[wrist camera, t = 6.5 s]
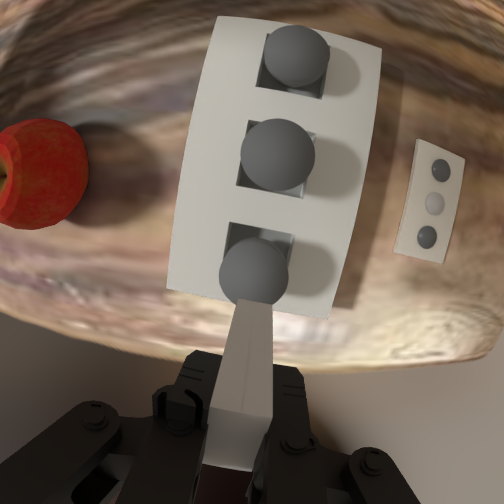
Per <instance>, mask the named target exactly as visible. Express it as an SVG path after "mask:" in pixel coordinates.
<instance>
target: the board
mask: <svg viewBox="0 0 504 504" xmlns="http://www.w3.org/2000/svg"><path fill="white" fill-rule="evenodd" d="M288 25H293V24H287V23H282V22H275V21H268V20H261V19H252V18H242V17H230V16H218V17H217V20H216V23H215V26H214V30H213V33H212V37H211V40H210V44H209V47H208V51H207V55H206V58H205V62H204V66H203V70H202V74H201V78H200V82H199V86H198V90H197V95H196V99H195V104H194V108H193V113H192V117H191V122H190V127H189V132H188V137H187V142H186V147H185V153H184V158H183V164H182V170H181V176H180V182H179V188H178V195H177V201H176V208H175V216H174V223H173V231H172V239H171V248H170V257H169V267H168V277H167V289H172V290H176V291H180V292H185V293H189V294H194V295H198V296H203V297H207V298H212V299H217V300H222V301H227V302H231V301H230V300H229V299H228V298H227V297H226V296H225V294H224V293H223V291H222V289H221V286H220V283H219V269H220V266H221V263H222V261H223V259H224V258H225V256H226V254H227V252H228V251H229V249H230V248H231V247H232V246H233V245H234V244H235V243H237V242H239V241H240V240H243V239H246V238H251V237H258V238H263V239H266V240H269V241H271V242H272V243H274V244H275V245H276V246H277V247H278V248H279V249H280V250H281V251H282V253H283V254H284V257H285V259H286V263H287V268H288V274H289V281H288V286H287V289H286V291H285V293H284V294H283V296H282V297H281V298H280V299H279V300H278V301H277V302H276V303H274V304H273V305H272V310H273V311H279V312H284V313H290V314H296V315H302V316H308V317H314V318H320V319H327V320H328V317H329V313H330V310H331V307H332V304H333V301H334V297H335V294H336V291H337V287H338V284H339V280H340V277H341V273H342V270H343V266H344V263H345V259H346V255H347V251H348V248H349V244H350V240H351V236H352V232H353V228H354V224H355V219H356V215H357V211H358V206H359V202H360V197H361V192H362V188H363V183H364V178H365V173H366V167H367V162H368V156H369V151H370V145H371V139H372V133H373V126H374V119H375V112H376V105H377V97H378V88H379V79H380V68H381V57H382V49H381V48H378V47H375V46H372V45H370V44H367V43H364V42H360V41H357V40H354V39H351V38H347V37H344V36H340V35H337V34H333V33H329V32H325V31H321V30H317V29H313V28H310V29H312V30H314V31H316V32H317V33H319V34H320V35H321V36H322V37H323V38H324V39H325V41H326V42H327V44H328V46H329V50H330V59H329V62H328V65H327V66H326V68H325V70H324V72H323V74H322V75H321V77H320V78H319V79H318V80H317V81H315V82H314V83H312V84H309V85H306V86H301V87H297V88H290V87H286V86H284V85H282V84H281V83H280V82H279V81H277V80H276V79H275V78H274V77H272V75H271V74H270V73H269V72H268V70H267V68H266V65H265V54H264V46H265V42H266V40H267V38H268V37H269V35H270V34H271V33H272V32H273V31H275V30H277V29H278V28H281V27H284V26H288ZM275 118H280V119H286V120H290V121H292V122H294V123H296V124H298V125H299V126H301V127H302V128H303V129H304V130H305V131H306V132H307V133H308V134H309V136H310V138H311V139H312V142H313V144H314V148H315V163H314V167H313V169H312V171H311V173H310V175H309V176H308V177H307V179H306V180H305V181H304V182H303V183H301V184H300V185H298V186H297V187H295V188H292V189H290V190H286V191H271V190H267V189H264V188H262V187H260V186H258V185H257V184H255V183H254V182H253V181H252V180H251V179H250V178H249V177H248V176H247V174H246V172H245V171H244V169H243V166H242V163H241V157H240V151H241V146H242V142H243V140H244V138H245V136H246V134H247V133H248V132H249V130H251V129H252V128H253V127H254V126H255V125H257V124H258V123H260V122H262V121H265V120H268V119H275Z"/></svg>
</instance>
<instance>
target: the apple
mask: <svg viewBox="0 0 504 504" xmlns="http://www.w3.org/2000/svg"><path fill="white" fill-rule="evenodd" d="M88 177H89V164H88V155H87V152H86V149H85V146H84V143H83V140H82V137H81V136H80V135H79V134H78V133H77V132H76V130H75V129H74V128H72V127H71V126H69V125H67V124H66V123H64V122H60V121H56V120H51V119H46V118H36V119H29V120H25V121H22V122H20V123H17V124H14V125H12V126H9V127H7V128H6V129H5V130H3V131H2V132H1V133H0V223H2V224H5V225H7V226H10V227H13V228H15V229H26V230H35V229H41V228H44V227H48V226H52V225H55V224H57V223H58V222H60V221H62V220H63V219H65V218H66V217H67V216H68V215H69V214H70V213H71V212H72V211H73V209H74V208H75V207H76V205H77V204H78V203H79V201H80V200H81V198H82V196H83V193H84V191H85V189H86V186H87V184H88Z"/></svg>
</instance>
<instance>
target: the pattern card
mask: <svg viewBox="0 0 504 504" xmlns="http://www.w3.org/2000/svg"><path fill="white" fill-rule="evenodd" d="M464 164H465V159H464V158H462V157H459V156H457V155H455V154H453V153H451V152H449V151H447V150H444V149H442V148H440V147H438V146H435V145H433V144H431V143H428V142H426V141H424V140H421V139H416V144H415V151H414V158H413V164H412V170H411V175H410V181H409V186H408V191H407V196H406V201H405V205H404V210H403V214H402V218H401V222H400V226H399V230H398V234H397V238H396V242H395V246H394V249H393V252H395V253H398V254H402V255H406V256H411V257H415V258H419V259H423V260H427V261H431V262H435V263H439V264H443V261H444V257H445V254H446V250H447V247H448V243H449V239H450V236H451V232H452V228H453V223H454V219H455V215H456V210H457V205H458V200H459V195H460V190H461V184H462V178H463V171H464Z"/></svg>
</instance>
